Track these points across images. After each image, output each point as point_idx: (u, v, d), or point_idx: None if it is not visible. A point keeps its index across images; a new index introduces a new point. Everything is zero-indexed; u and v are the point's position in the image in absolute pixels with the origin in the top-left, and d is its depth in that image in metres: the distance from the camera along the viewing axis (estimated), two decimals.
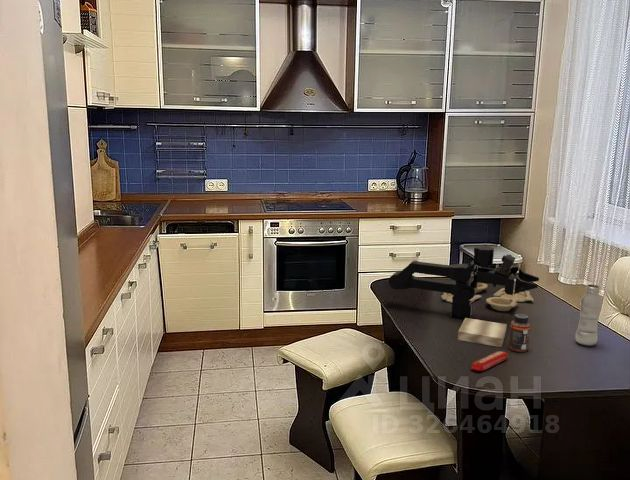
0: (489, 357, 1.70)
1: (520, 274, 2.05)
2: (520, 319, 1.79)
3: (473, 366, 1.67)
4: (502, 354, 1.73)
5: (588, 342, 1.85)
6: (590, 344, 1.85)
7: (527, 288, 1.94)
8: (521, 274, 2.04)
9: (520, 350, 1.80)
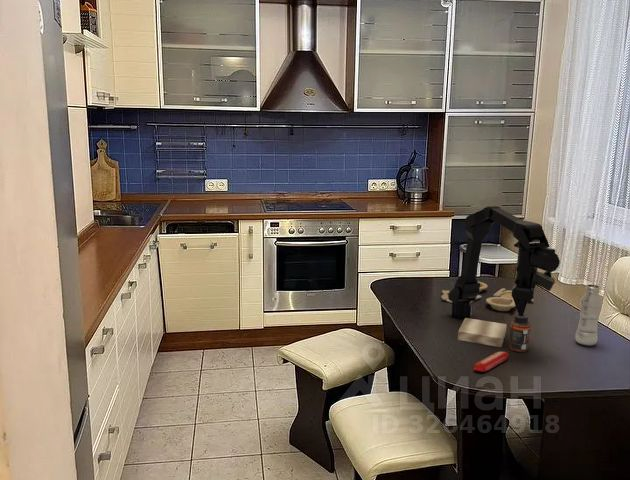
0: (491, 358, 1.70)
1: None
2: (520, 319, 1.79)
3: (475, 367, 1.67)
4: (503, 354, 1.73)
5: (588, 342, 1.85)
6: (590, 344, 1.85)
7: (518, 307, 1.75)
8: None
9: (520, 350, 1.80)
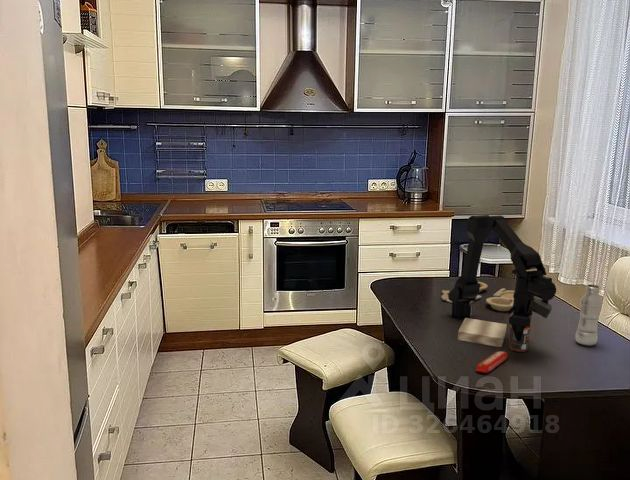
0: (492, 358, 1.70)
1: None
2: None
3: (478, 368, 1.66)
4: (503, 354, 1.73)
5: (588, 342, 1.85)
6: (590, 344, 1.85)
7: (515, 332, 1.78)
8: None
9: (520, 350, 1.80)
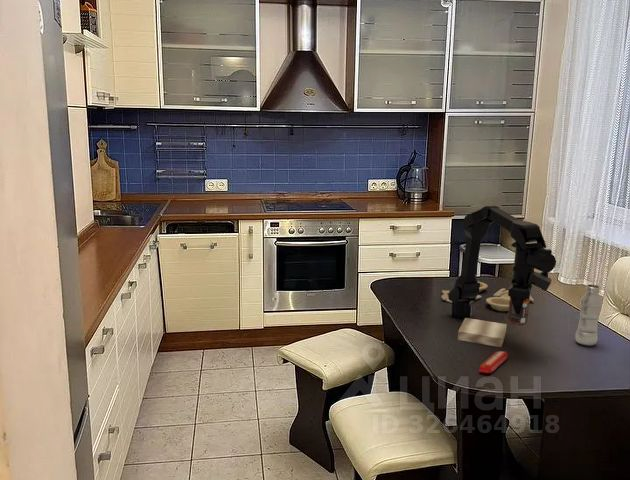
0: (493, 358, 1.70)
1: None
2: None
3: (481, 369, 1.66)
4: (503, 354, 1.73)
5: (588, 342, 1.85)
6: (590, 344, 1.85)
7: (515, 305, 1.77)
8: None
9: (519, 323, 1.79)
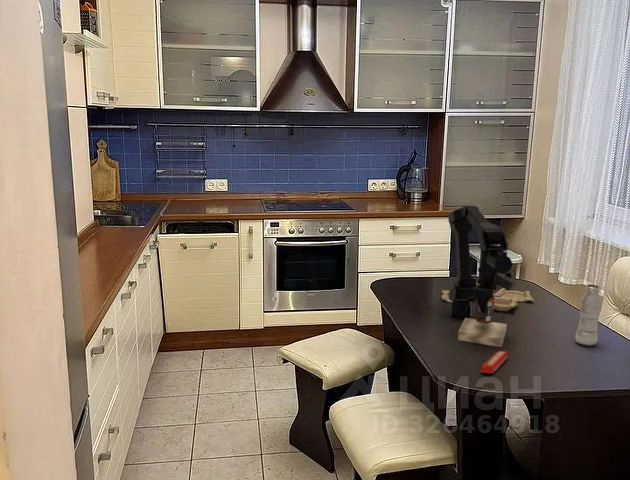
0: (495, 359, 1.69)
1: None
2: None
3: (483, 369, 1.65)
4: (504, 354, 1.73)
5: (588, 342, 1.85)
6: (590, 344, 1.85)
7: (480, 304, 1.87)
8: None
9: (485, 322, 1.89)
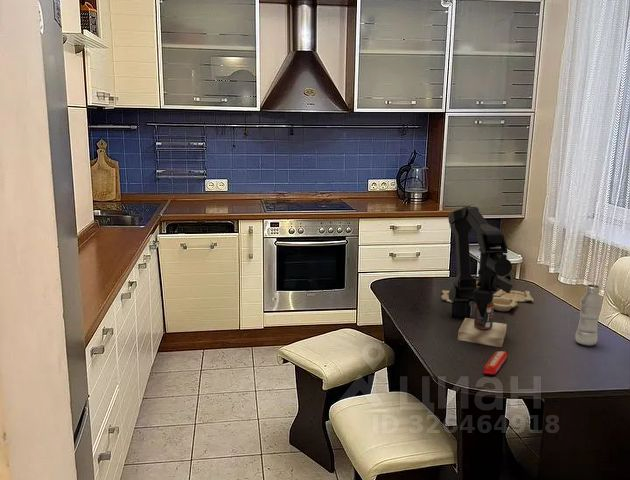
0: (496, 359, 1.69)
1: None
2: None
3: (486, 370, 1.65)
4: (504, 354, 1.73)
5: (588, 342, 1.85)
6: (590, 344, 1.85)
7: (479, 308, 1.86)
8: None
9: (484, 328, 1.90)
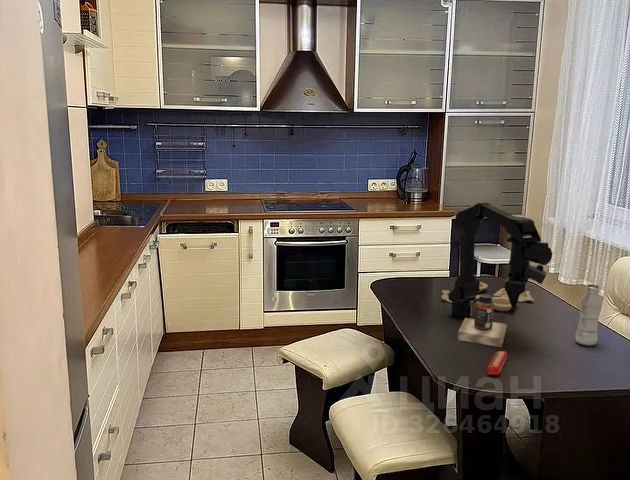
0: (498, 359, 1.69)
1: None
2: (484, 299, 1.89)
3: (489, 371, 1.64)
4: (505, 354, 1.73)
5: (588, 342, 1.85)
6: (590, 344, 1.85)
7: (511, 299, 1.81)
8: None
9: (484, 328, 1.90)
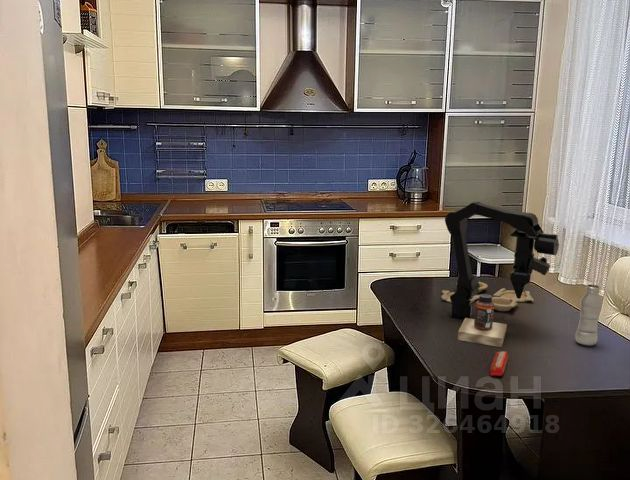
0: (500, 360, 1.69)
1: None
2: (484, 299, 1.89)
3: (493, 372, 1.64)
4: (506, 354, 1.73)
5: (588, 342, 1.85)
6: (590, 344, 1.85)
7: (516, 290, 1.91)
8: None
9: (484, 328, 1.90)
